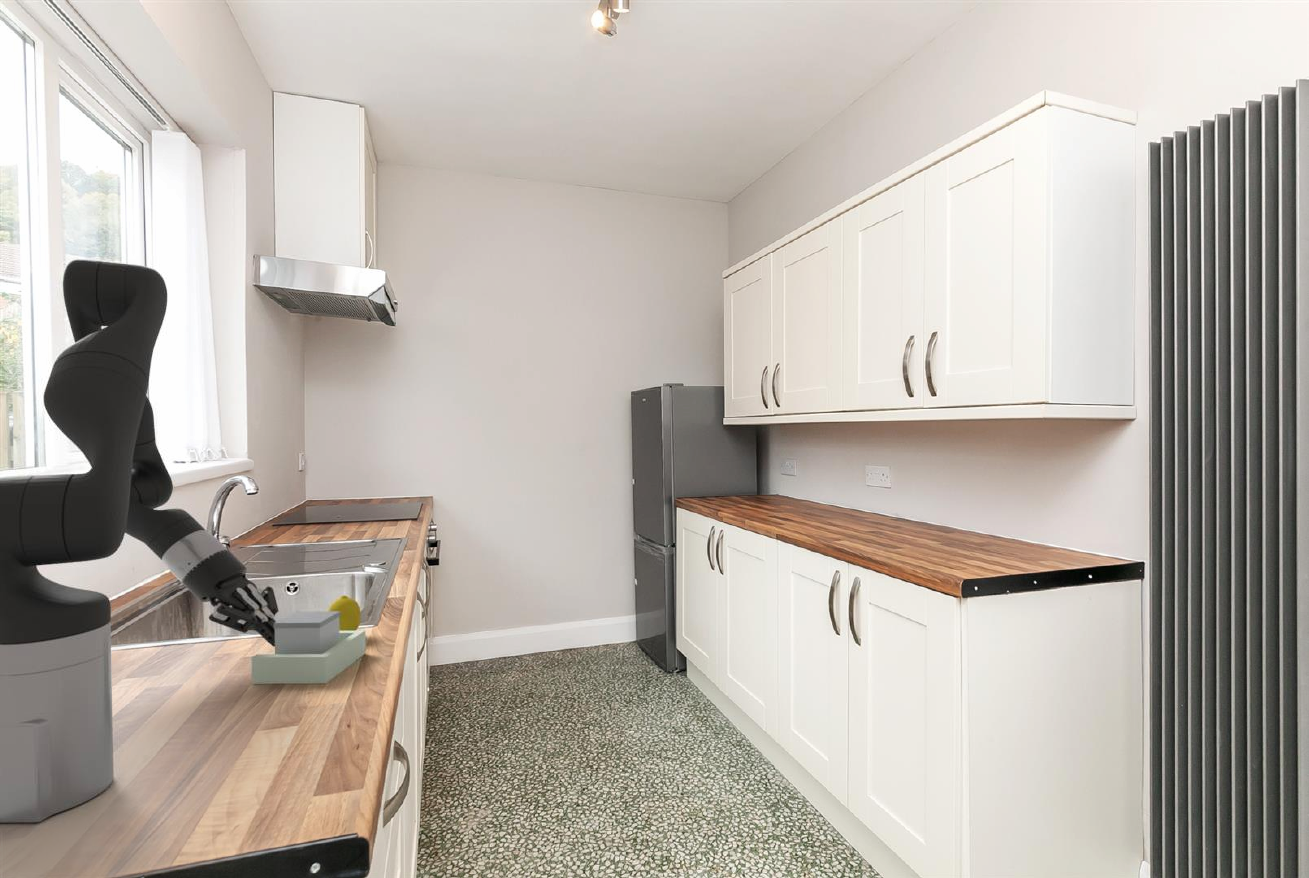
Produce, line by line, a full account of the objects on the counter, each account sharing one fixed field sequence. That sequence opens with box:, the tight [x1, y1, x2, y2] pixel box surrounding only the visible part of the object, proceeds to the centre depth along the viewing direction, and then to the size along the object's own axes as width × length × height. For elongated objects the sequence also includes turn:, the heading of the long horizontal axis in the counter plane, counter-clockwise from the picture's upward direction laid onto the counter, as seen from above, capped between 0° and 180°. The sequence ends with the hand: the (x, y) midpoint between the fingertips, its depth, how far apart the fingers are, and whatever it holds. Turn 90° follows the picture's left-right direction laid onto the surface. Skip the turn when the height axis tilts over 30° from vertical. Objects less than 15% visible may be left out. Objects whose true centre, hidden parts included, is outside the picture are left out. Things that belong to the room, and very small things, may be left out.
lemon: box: [327, 595, 362, 631], centre depth 113 cm, size 6×6×8 cm
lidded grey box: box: [274, 610, 340, 654], centre depth 99 cm, size 6×7×8 cm
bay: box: [251, 630, 366, 685], centre depth 99 cm, size 12×11×4 cm
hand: (282, 641), depth 99 cm, fingers closed
